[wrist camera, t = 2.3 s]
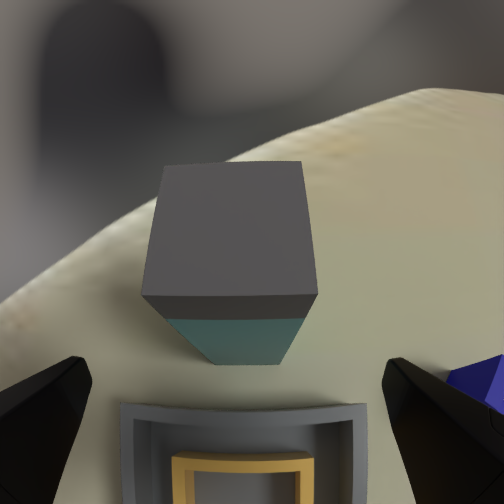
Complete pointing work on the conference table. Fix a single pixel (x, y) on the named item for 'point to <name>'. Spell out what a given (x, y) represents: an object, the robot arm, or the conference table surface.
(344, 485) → the socket box
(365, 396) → the conference table surface
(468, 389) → the cable clip
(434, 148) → the conference table surface
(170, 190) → the plug
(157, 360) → the conference table surface
